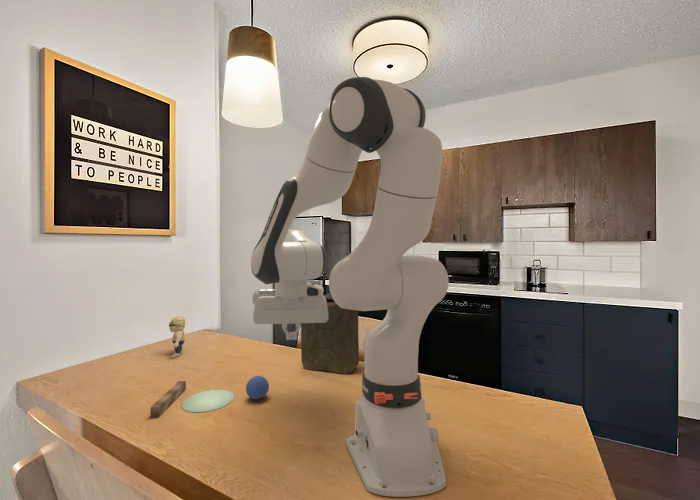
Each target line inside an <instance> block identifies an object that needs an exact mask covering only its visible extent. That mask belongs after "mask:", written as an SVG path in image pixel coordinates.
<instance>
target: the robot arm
mask: <svg viewBox="0 0 700 500" xmlns="http://www.w3.org/2000/svg"><path fill="white" fill-rule="evenodd" d="M318 116H319V117H318V119H317V121H316V122H315V125H314V128H313V129H312V133H311V136H310V138H309V142H308V145H307V149H306V152H305V157H304V160H303V163H302V164H301V166H300V168H299V169H298V171H297V172H296V173H295V175H293V176H292V177H291V178H289V179H287V180H285V182H284V183H283V184H282V186H281V188H280V190H279V192H278V194H277V197H276V199H275V201H274V203H273V206H272V209H271V211H270V213H269V216H268V218H267V222H266V224H265V226H264V229H263V231H262V234H261V236H260V238H259V240H258V241H257V244H256V245H255V247H254V249H253V251H252V254H251V259H250V268H251V270H250V271H251V273H252V275H253V276H254V277H255V278H256V279H257V280H258V281H260V282H261V283H263V284H265V285H273V284H274V288H273V289H272V288H268V289H263V288H262V289H260V288H259V289H258V290H257V291H255V292H253V294H252V304H253V306H254V307H253V313H252V314H253V317H252V318H253V323H255V324H256V325H281V328H282V330H283V332H284V334H285V339H286V341H289V340H290V341H292V340H295V341H297V340H298V334H299V331H301V323H326V322H327V321H328V307H327V302H328V300H327V301H326V298H325V297H324V296H323V295H324V291H325V290H324V286H322V285H320V284H317V283H312V282H311V281H310V282H309V281H308V280H315V279H318V278H319V279H320V278H321V276H323V275H324V273H325V272H326V270H327V267H328V253H327V250H325V248H324V246H323V245H322V244H320V243H318V242H315V241H313V240H311V239H310V238H308V237H307V235H306V232H305V231H304V230H303V229H299V228H291V225H292V224H293V221H294V220H295V219H296V218H297V217H298V216H299V215H301V214H302V213H304V212H306V211H308V210H311V209H313V208H317V207H321V206H323V205H327V204H328V205H329V204H332V203H334V202H336V201H337V200H340V199H341V198H342V197H343V196H345V195H346V193H347V192H348V191H349V189H350V187H351V186H352V183H353V179H354V178H355V177H354V176H355V174H356V170H357V167H358V163H359V161H360V157H361V154H362V152H363V151H364V152H365V153H368V154H372V153H373V152H376V153H377V154H378V157H379V160H380V172H379V179H378V183H377V184H378V185H377V191H376V195H375V196H376V197H375V203H374V208H373V212H372V216H371V220H370V225H369V226H368V228H367V231H366V233H365V235H364V237H363V238H362V239H361V241H360V242H359V244H358V245H357V246H356V247H355V248H354V249H353V250H352V251H351V252H350V253H349V254H348V255H346V256H345V257H343V258H341V259H340V260H338V262H337V263H336V264H335V265H334V266H333V268H332V270H331V271H330V273H329V274H330V275H329V279H328V290H329V292H330V293H329V294H331V296H332V298H333V300H332V301H333V302H335V303H336V304H337V305H338V306H339V307H340V308H343V309H350V310H357V311H358V312H369V311H370V312H371V311H383V310H387V312H386V314H385V317H384V318H383V320H382V321H381V322H380V323H379V324H378V325H376V326H374V327H373V328H372V329H370V330H369V332H367V335H366V336H365V339H364V342H363V349H364V350H363V351H364V352H363V355H364V357H363V358H364V359H363V360H364V361H363V364H364V369H363V370H364V371H363V373H362V377H361V378H362V379H361V387H362V389H361V391H362V395H361V397H360V398H359V399H358V400H357V401H356V402H355V404H354V405H355V406H354V407H355V409H354V410H355V411H354V434H352V435H350V436H348V437H347V438H346V442H345V446H346V448H347V450H348V452H349V454H350V456H351V458H352V460H353V463H354V465H355V468H356V469H357V471H358V474H359V476H360V478H361V480H362V482H363V485H364V487H365V489H366V490H367V491H368V492H370V493H372V494H376V495H380V496H384V497H385V496H386V497H394V498H395V497H396V498H397V497H398V498H402V497H403V498H404V497H405V498H407V497H408V498H409V497H418V496H419V497H420V496H424V495H430V494H434V493H436V492H439V491H441V490H443V489H444V488H445V487H446V486H447V480H446V479H447V478H446V473H445V469H444V465H443V461H442V458H441V453H440V449H439V444H438V442H439V429H438V428H436V427H431V426H430V427H429V421H431V420H432V414H431V412H427V411H426V401H425V399H424V398H423V396H422V383H421V377H420V375H419V370H418V369H419V365H418V364H419V344H420V338H421V334H422V330H423V328H424V324H425V323H426V320H427V318H428V316H430V315H429V314H430V313H431V312H432V311H433V309H434V308H435V306H437V305H438V304H439V303H440V302H441V301H442V300H443V299H444V298H445V296H446V294H447V293H448V288H449V281H450V280H449V274H448V271H447V269H446V267H445V266H444V264H443V263H442V262H441V261H440V260H439V259H436V258H432V257H428V256H422V255H417V254H416V255H413V254H412V255H405V253H407V252H408V251H409V250H410V249H411V248H413V247H415V246H417V245H418V244H420V243H422V242H423V241H424V240H425V239H426V237H427V236H428V235H429V233H430V230H431V225H432V220H433V216H434V211H435V206H436V202H437V198H438V193H439V188H440V184H441V183H440V182H441V175H442V164H443V143H442V141H441V139H440V138H439V136H438V134H435V133H434V132H433V131H431V130H429V129H428V128H425V127H424V126H425V123H426V108H425V105H424V103H423V101H422V100H421V98H420V97H419V95H417V94H416V93H414V92H413V91H411V90H410V89H407V88H405V87H404V88H403V87H401V86H398V85H396V84H395V83H393V82H391V81H387V80H384V79H383V80H381V79H375V78H370V77H368V76H356V77H350V78H348V79H345V80H343V81H341V82H340V83H339V84H338V85H337V86H336V87H335V88H334V90H333V91H332V93H331V96H330V98H329V102H328V107H327V108H325V109H324V110H322V112H321V113H320V114H319V115H318ZM289 324H290V325H291V324H295V331H289V329H288V326H289Z"/></svg>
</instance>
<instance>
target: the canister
mask: <svg viewBox="0 0 700 500" xmlns="http://www.w3.org/2000/svg"><path fill="white" fill-rule="evenodd" d="M323 296H324V297H325V298H326V301H327V307H328V321H327V322H326V323H301V328H300V347H301V348H300V349H301V351H300V352H301V354H300V355H301V364H302V366H303V368H305V369H306V370H311V371H320V372H321V371H324V372H330V373H335V374H343V375H347V374H348V375H349V374H351V373H352V372H353V371H354V370H355V369H356V368H357V366H358V365H359V362H360V361H359V360H360V359H359V358H360V356H359V355H360V353H359V352H360V351H359V350H360V349H359V346H360V345H359V311H357V310H350V309H343V308H340V307H339V306H338V305H337V304H336V303H335V301H334V300H333V298H332V296H331V293H327V294H323ZM328 300H330V301H328Z"/></svg>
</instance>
